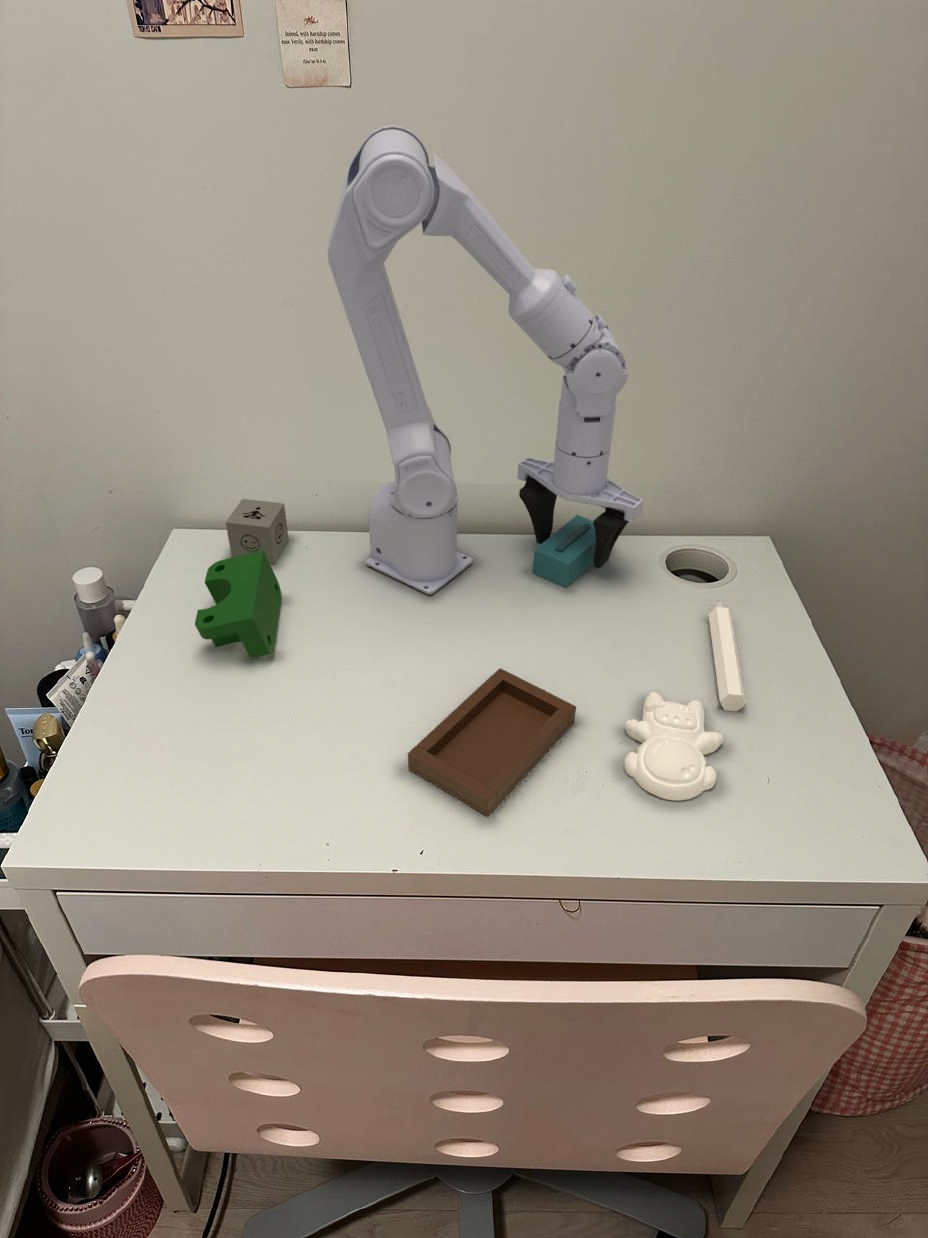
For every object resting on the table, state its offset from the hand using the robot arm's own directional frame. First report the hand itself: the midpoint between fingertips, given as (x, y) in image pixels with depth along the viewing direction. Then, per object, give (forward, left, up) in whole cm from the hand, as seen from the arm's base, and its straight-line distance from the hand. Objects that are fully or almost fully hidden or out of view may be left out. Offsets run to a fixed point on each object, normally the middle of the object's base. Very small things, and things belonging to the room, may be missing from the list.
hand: (571, 551), depth 105 cm
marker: (+21, -4, -2) cm, 21 cm away
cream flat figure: (+22, -19, -2) cm, 29 cm away
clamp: (-21, -31, -2) cm, 37 cm away
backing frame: (+9, -29, -1) cm, 30 cm away
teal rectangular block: (0, 0, -1) cm, 1 cm away
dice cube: (-30, -20, -2) cm, 36 cm away
